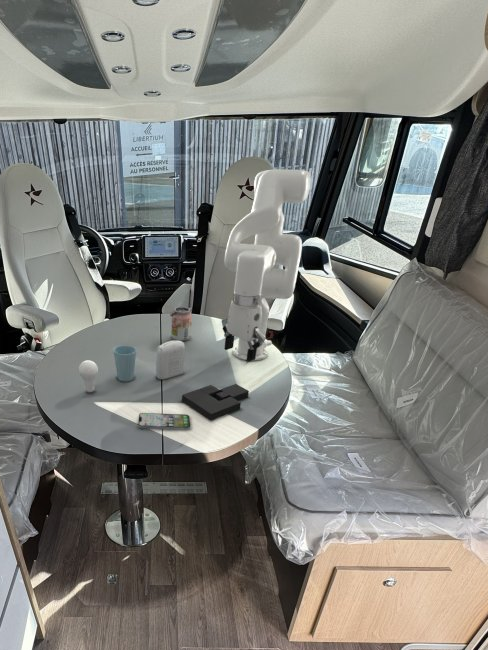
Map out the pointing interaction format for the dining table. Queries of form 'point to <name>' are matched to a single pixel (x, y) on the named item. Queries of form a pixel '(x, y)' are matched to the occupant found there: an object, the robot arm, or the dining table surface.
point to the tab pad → (232, 393)
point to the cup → (125, 362)
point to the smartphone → (164, 421)
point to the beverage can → (181, 324)
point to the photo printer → (170, 359)
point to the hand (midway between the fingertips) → (239, 354)
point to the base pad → (210, 403)
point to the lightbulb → (88, 374)
